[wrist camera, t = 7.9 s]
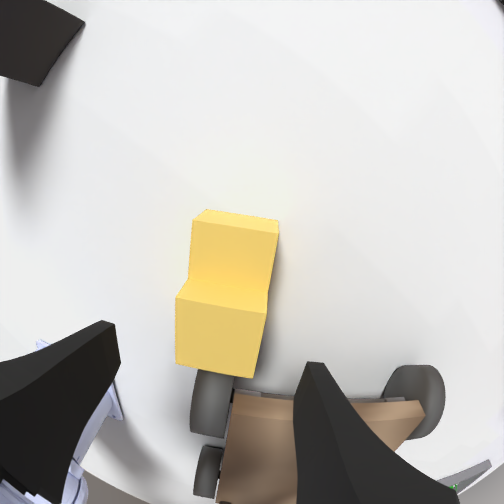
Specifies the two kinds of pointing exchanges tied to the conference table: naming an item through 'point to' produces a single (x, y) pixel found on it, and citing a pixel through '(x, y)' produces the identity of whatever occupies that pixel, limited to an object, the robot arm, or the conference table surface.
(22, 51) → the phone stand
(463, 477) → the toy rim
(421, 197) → the conference table surface
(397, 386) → the trolley
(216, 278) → the yellow step block
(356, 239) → the conference table surface
